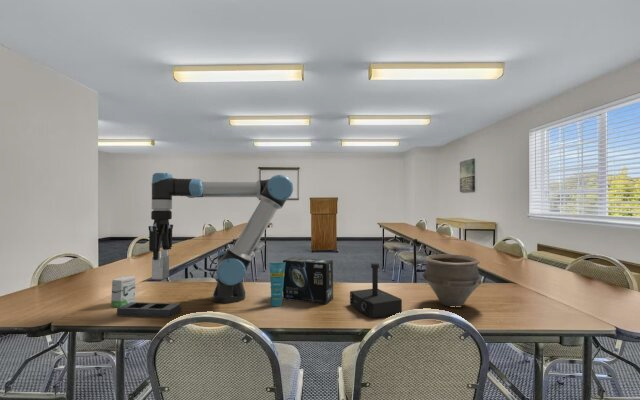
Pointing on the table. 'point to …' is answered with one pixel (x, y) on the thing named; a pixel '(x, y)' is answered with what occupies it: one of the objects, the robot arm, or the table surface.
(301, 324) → the table surface
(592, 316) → the table surface
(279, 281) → the tube
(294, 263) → the box
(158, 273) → the grey rectangular block
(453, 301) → the planter
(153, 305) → the dark grey slotted tray
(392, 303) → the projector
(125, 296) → the ink box
